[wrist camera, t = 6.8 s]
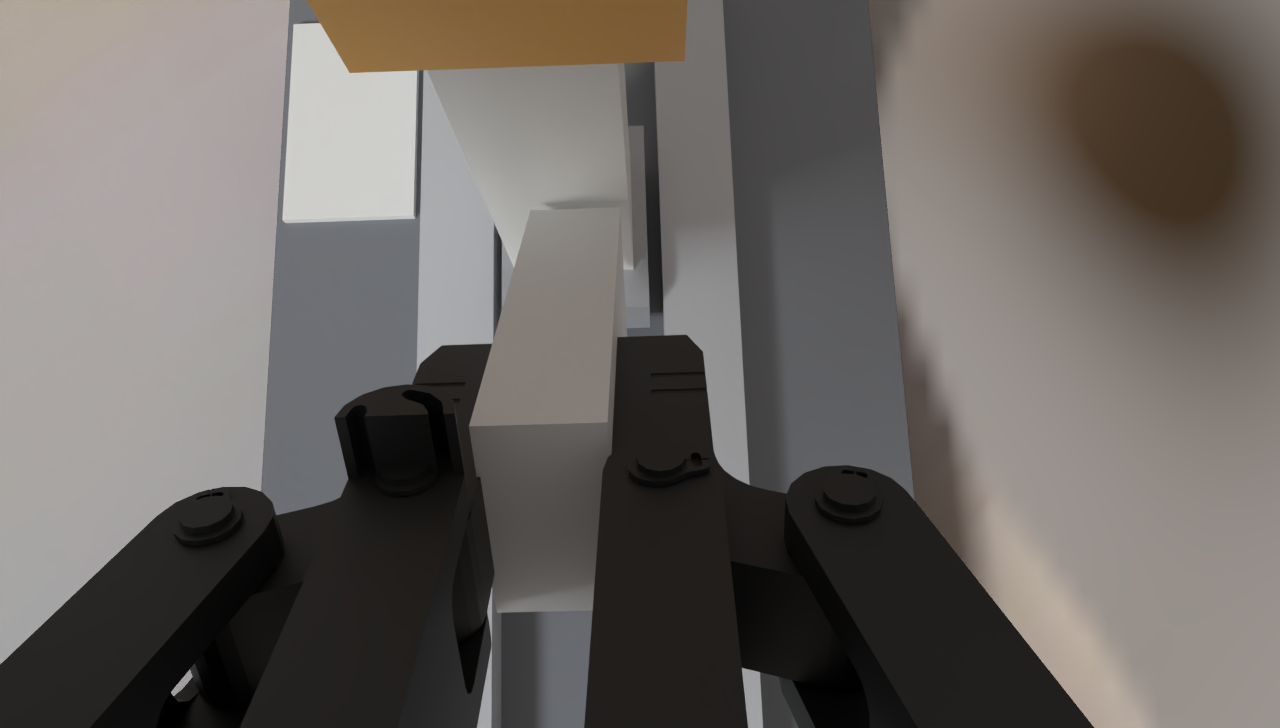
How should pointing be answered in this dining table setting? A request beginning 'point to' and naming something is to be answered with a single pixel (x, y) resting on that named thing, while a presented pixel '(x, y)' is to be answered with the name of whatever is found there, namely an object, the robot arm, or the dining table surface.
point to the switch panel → (677, 269)
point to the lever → (530, 100)
